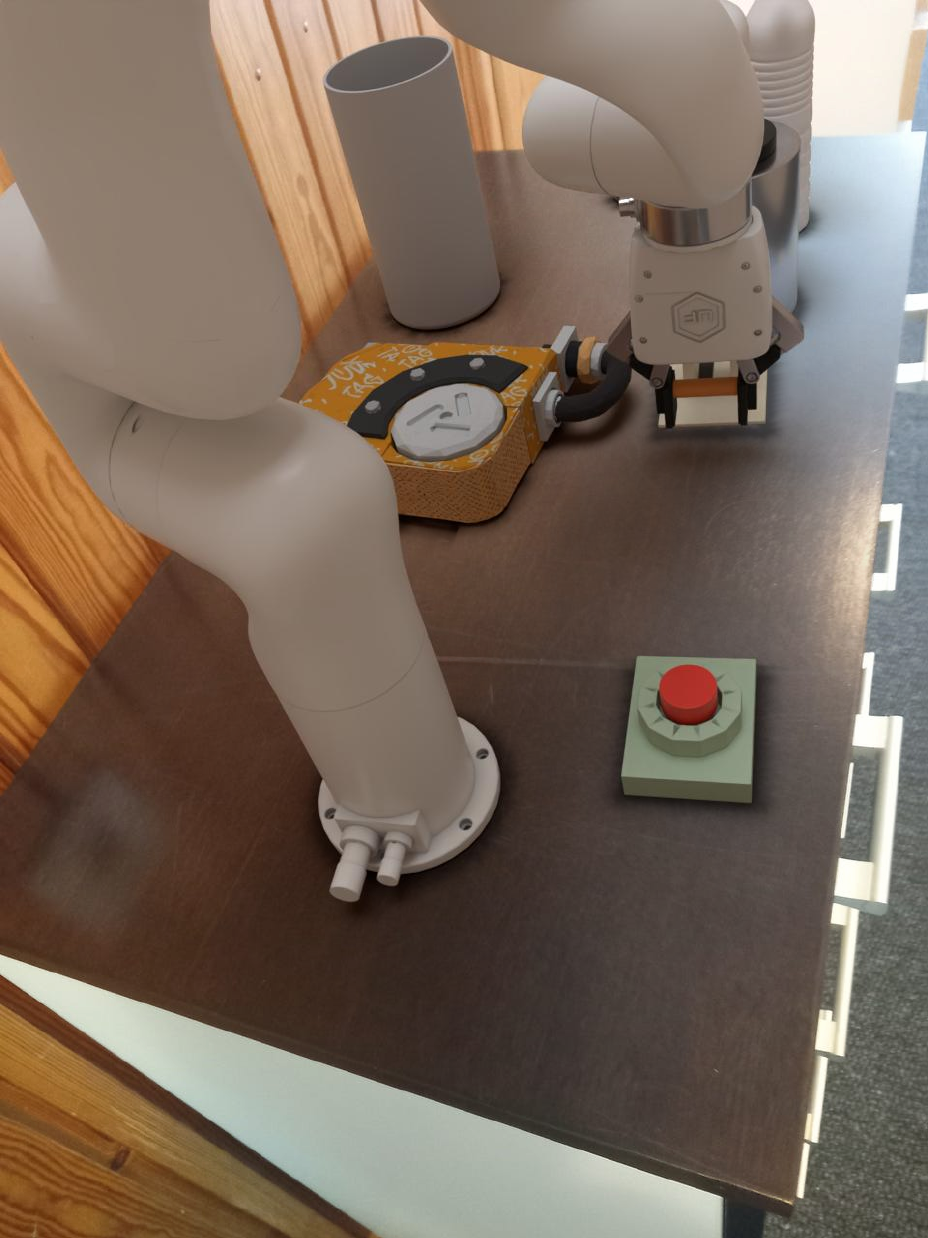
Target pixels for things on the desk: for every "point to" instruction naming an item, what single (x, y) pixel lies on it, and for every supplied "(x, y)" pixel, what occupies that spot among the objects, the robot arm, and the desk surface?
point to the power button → (688, 694)
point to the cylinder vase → (416, 178)
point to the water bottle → (786, 73)
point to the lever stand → (715, 400)
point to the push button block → (692, 736)
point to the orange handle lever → (705, 384)
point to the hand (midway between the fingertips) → (707, 414)
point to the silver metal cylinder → (780, 206)
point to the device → (465, 413)
